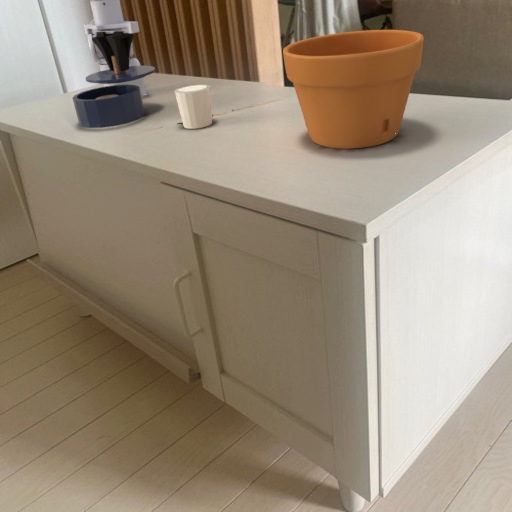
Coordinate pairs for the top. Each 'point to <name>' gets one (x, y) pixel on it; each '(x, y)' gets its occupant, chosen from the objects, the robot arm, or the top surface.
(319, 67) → the flower pot
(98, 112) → the pot
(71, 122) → the top surface
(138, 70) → the pot lid
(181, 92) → the white cup
